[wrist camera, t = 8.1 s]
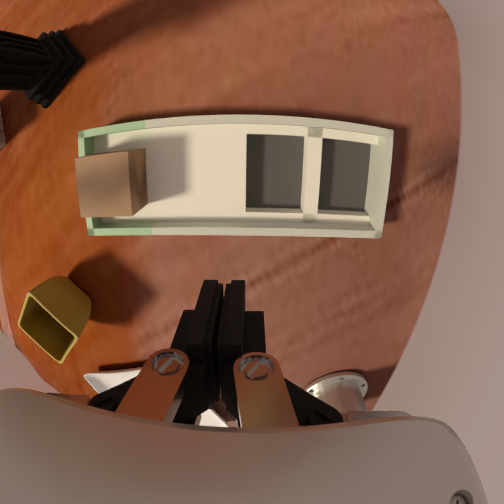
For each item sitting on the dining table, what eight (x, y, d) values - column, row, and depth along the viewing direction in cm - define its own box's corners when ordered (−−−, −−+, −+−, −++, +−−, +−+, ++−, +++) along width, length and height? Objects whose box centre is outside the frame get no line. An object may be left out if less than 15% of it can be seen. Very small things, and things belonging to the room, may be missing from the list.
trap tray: (367, 226, 31) (380, 238, 28) (104, 223, 31) (88, 235, 27) (377, 129, 26) (393, 130, 23) (96, 130, 26) (77, 131, 22)
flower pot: (63, 258, 33) (27, 291, 24) (106, 298, 35) (78, 338, 27) (46, 292, 35) (16, 325, 27) (85, 328, 38) (61, 365, 29)
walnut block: (148, 203, 28) (132, 216, 24) (101, 205, 28) (81, 217, 24) (145, 147, 25) (127, 151, 21) (96, 153, 25) (74, 158, 21)
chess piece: (26, 75, 21) (-84, 77, 3) (62, 30, 19) (-46, 2, 1) (47, 108, 24) (-78, 122, 6) (85, 60, 22) (-40, 34, 4)
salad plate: (147, 425, 50) (144, 436, 47) (87, 363, 42) (80, 376, 39) (233, 417, 47) (232, 431, 44) (179, 347, 39) (174, 363, 36)
